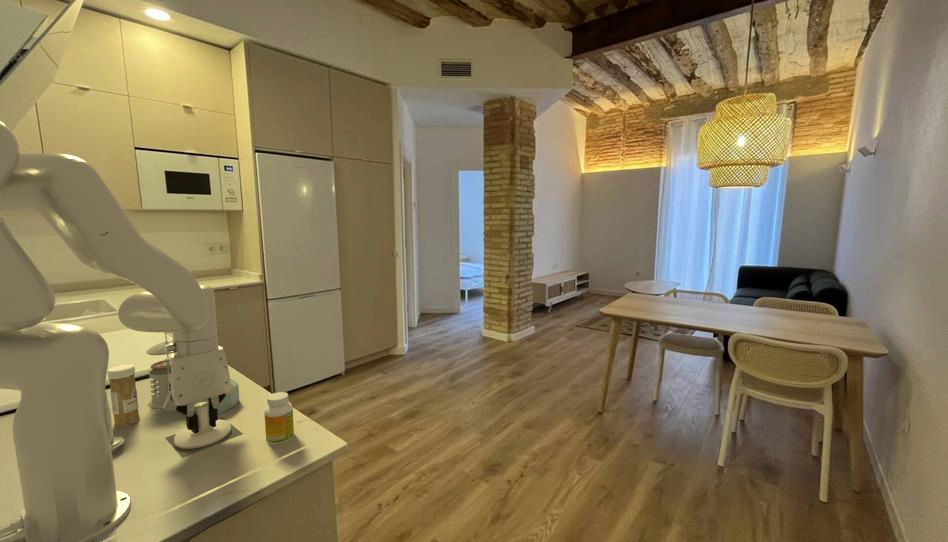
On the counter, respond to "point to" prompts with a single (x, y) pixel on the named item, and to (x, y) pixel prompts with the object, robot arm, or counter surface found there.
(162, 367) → the french press
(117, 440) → the screw
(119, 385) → the sprinkles bottle
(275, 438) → the supplement bottle
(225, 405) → the bowl
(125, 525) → the counter surface
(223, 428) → the lid
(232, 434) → the mat
